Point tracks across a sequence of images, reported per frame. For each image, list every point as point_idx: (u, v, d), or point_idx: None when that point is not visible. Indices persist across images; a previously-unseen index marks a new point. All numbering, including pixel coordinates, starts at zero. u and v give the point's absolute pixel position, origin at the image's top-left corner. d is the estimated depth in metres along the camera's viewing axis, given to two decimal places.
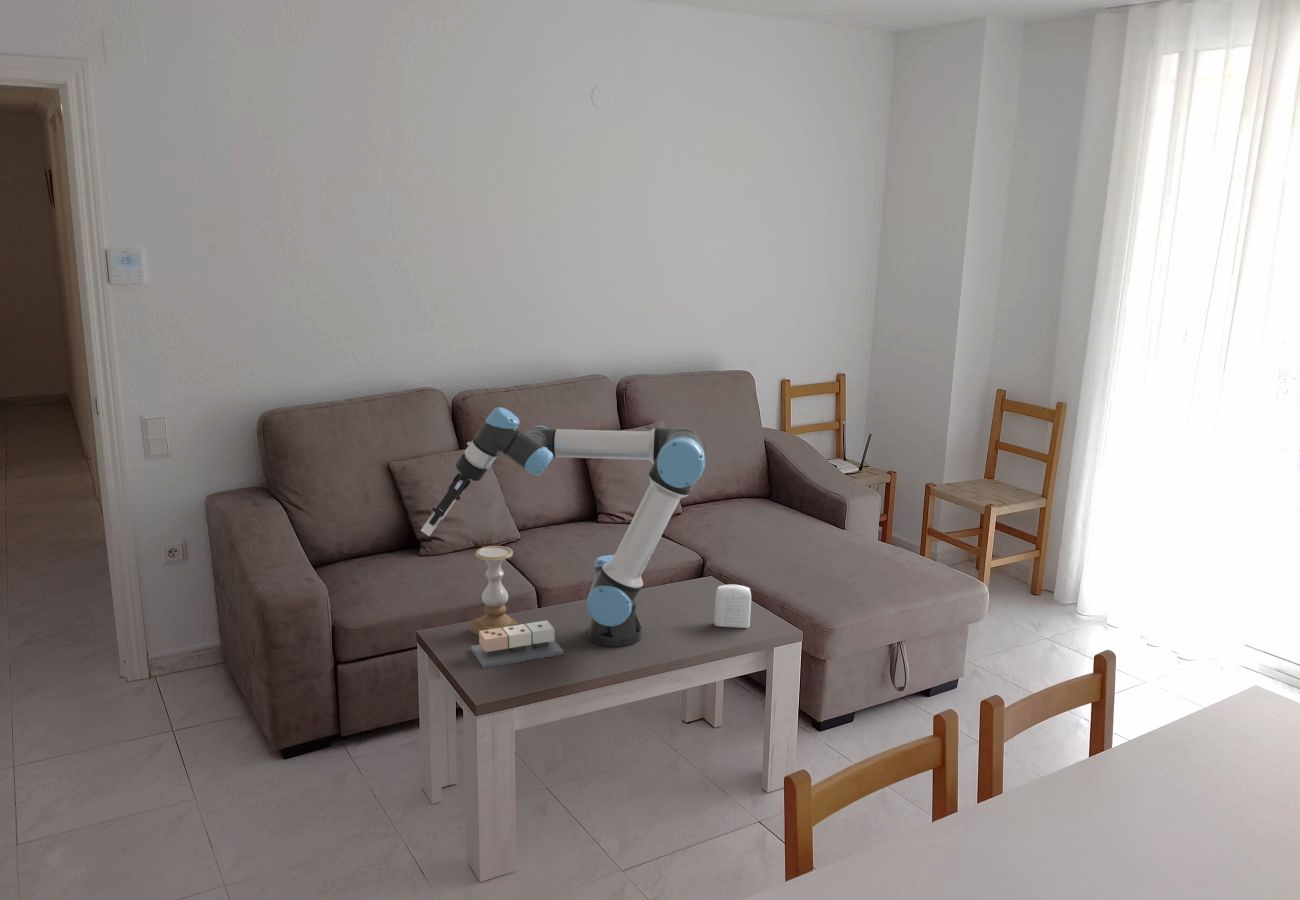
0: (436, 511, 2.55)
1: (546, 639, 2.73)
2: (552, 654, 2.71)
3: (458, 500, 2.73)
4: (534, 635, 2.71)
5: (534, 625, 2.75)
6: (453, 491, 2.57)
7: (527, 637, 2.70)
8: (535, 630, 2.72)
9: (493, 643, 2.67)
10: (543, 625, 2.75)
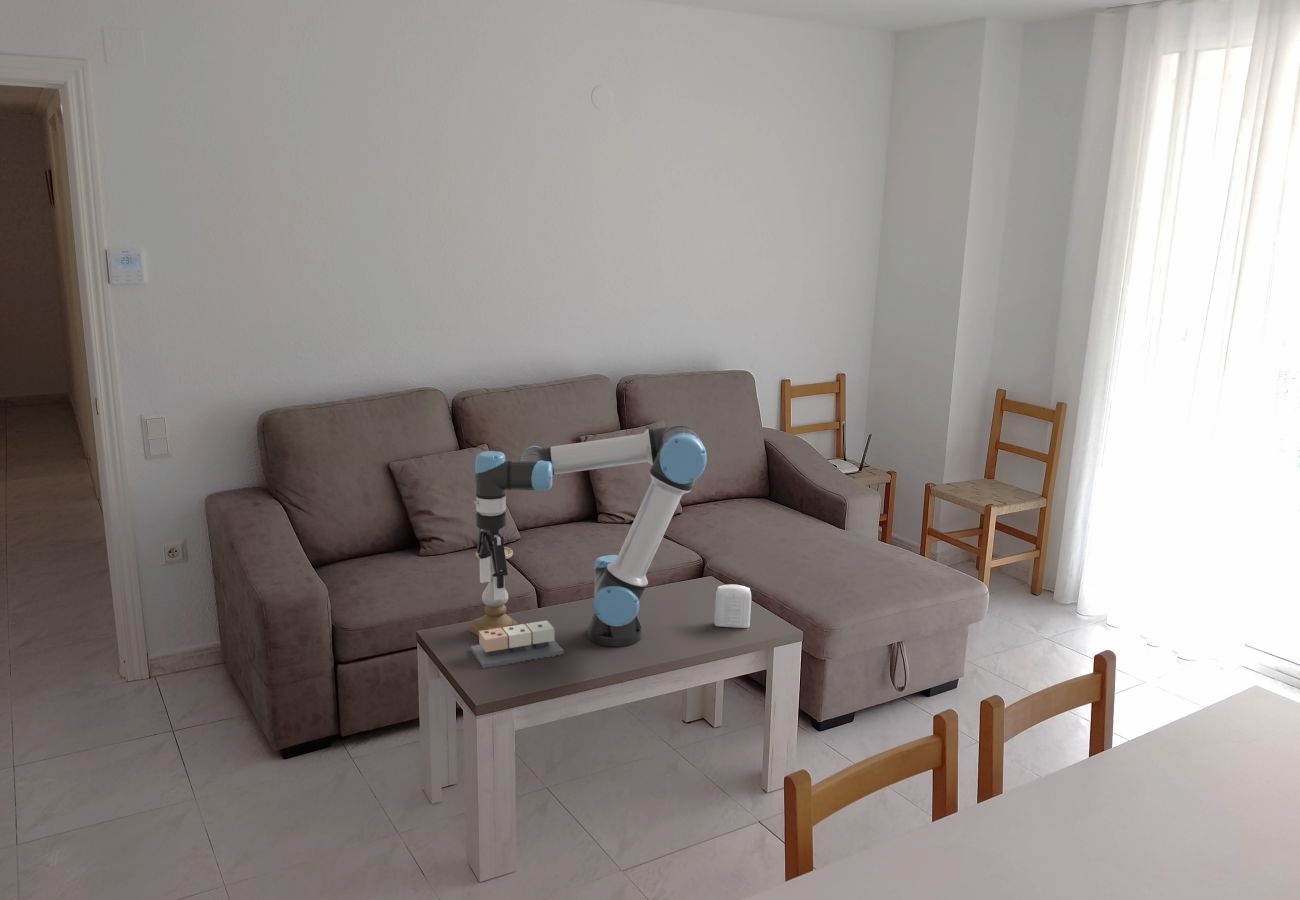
0: (500, 574, 2.56)
1: (546, 639, 2.73)
2: (552, 654, 2.71)
3: (491, 556, 2.72)
4: (534, 635, 2.71)
5: (534, 625, 2.75)
6: (498, 547, 2.57)
7: (527, 637, 2.70)
8: (535, 630, 2.72)
9: (493, 643, 2.67)
10: (543, 625, 2.75)
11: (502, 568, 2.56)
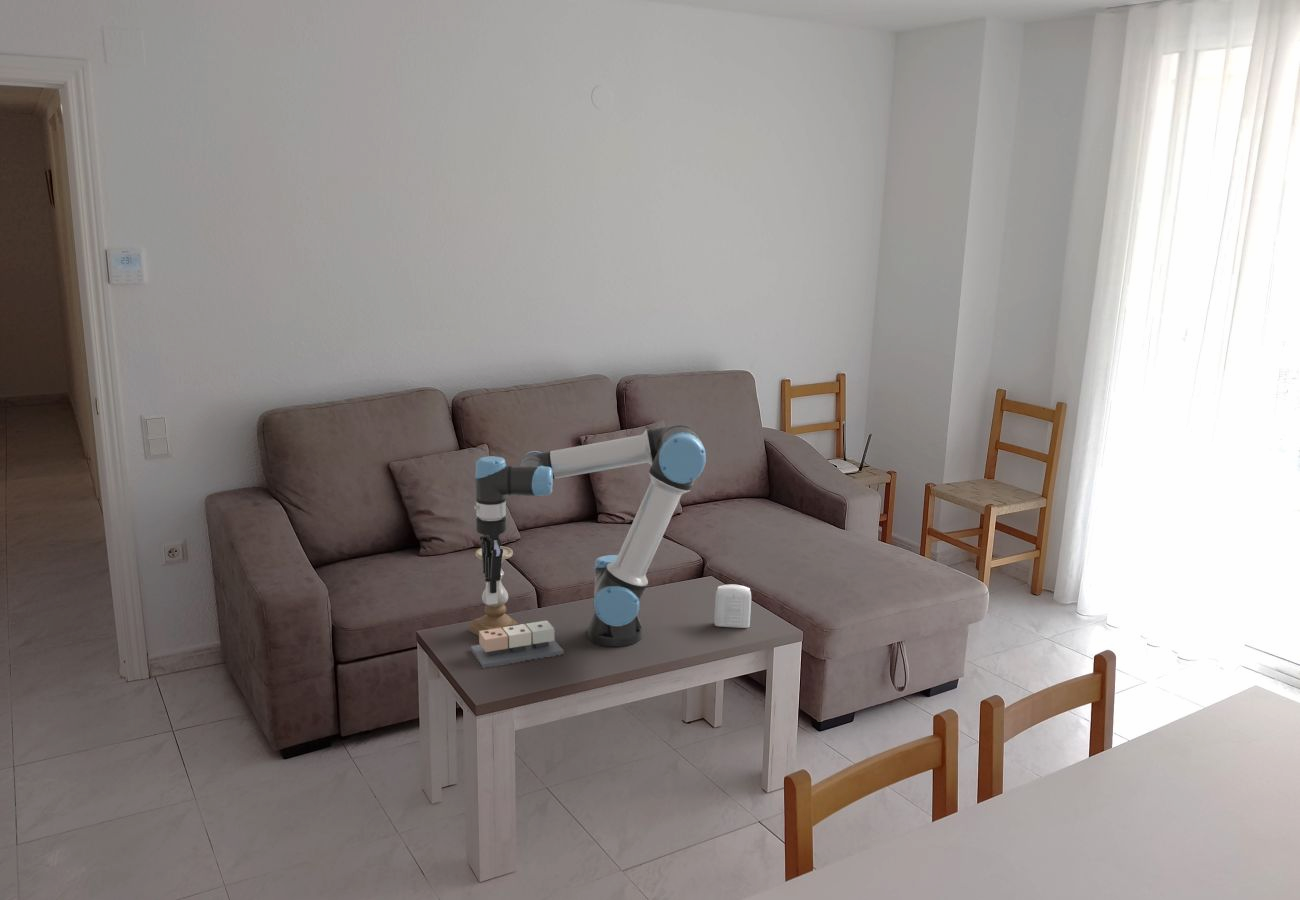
0: (493, 579, 2.62)
1: (546, 639, 2.73)
2: (552, 654, 2.71)
3: None
4: (534, 635, 2.71)
5: (534, 625, 2.75)
6: (496, 558, 2.59)
7: (527, 637, 2.70)
8: (535, 630, 2.72)
9: (493, 643, 2.67)
10: (543, 625, 2.75)
11: (496, 576, 2.62)
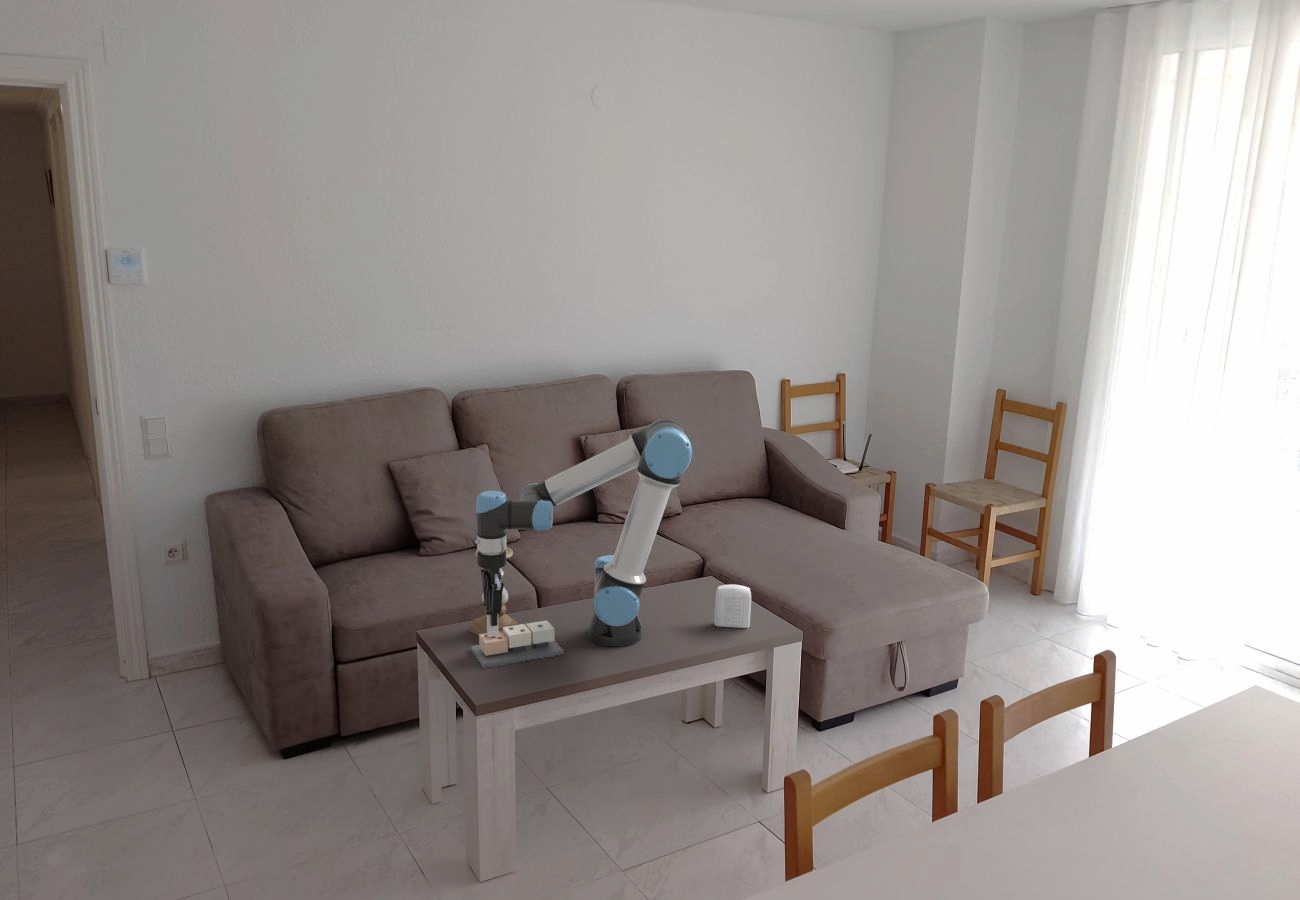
0: (494, 612, 2.64)
1: (546, 639, 2.73)
2: (552, 654, 2.71)
3: None
4: (534, 635, 2.71)
5: (534, 625, 2.75)
6: (497, 592, 2.62)
7: (527, 637, 2.70)
8: (535, 630, 2.72)
9: (493, 647, 2.67)
10: (543, 625, 2.75)
11: (497, 609, 2.64)
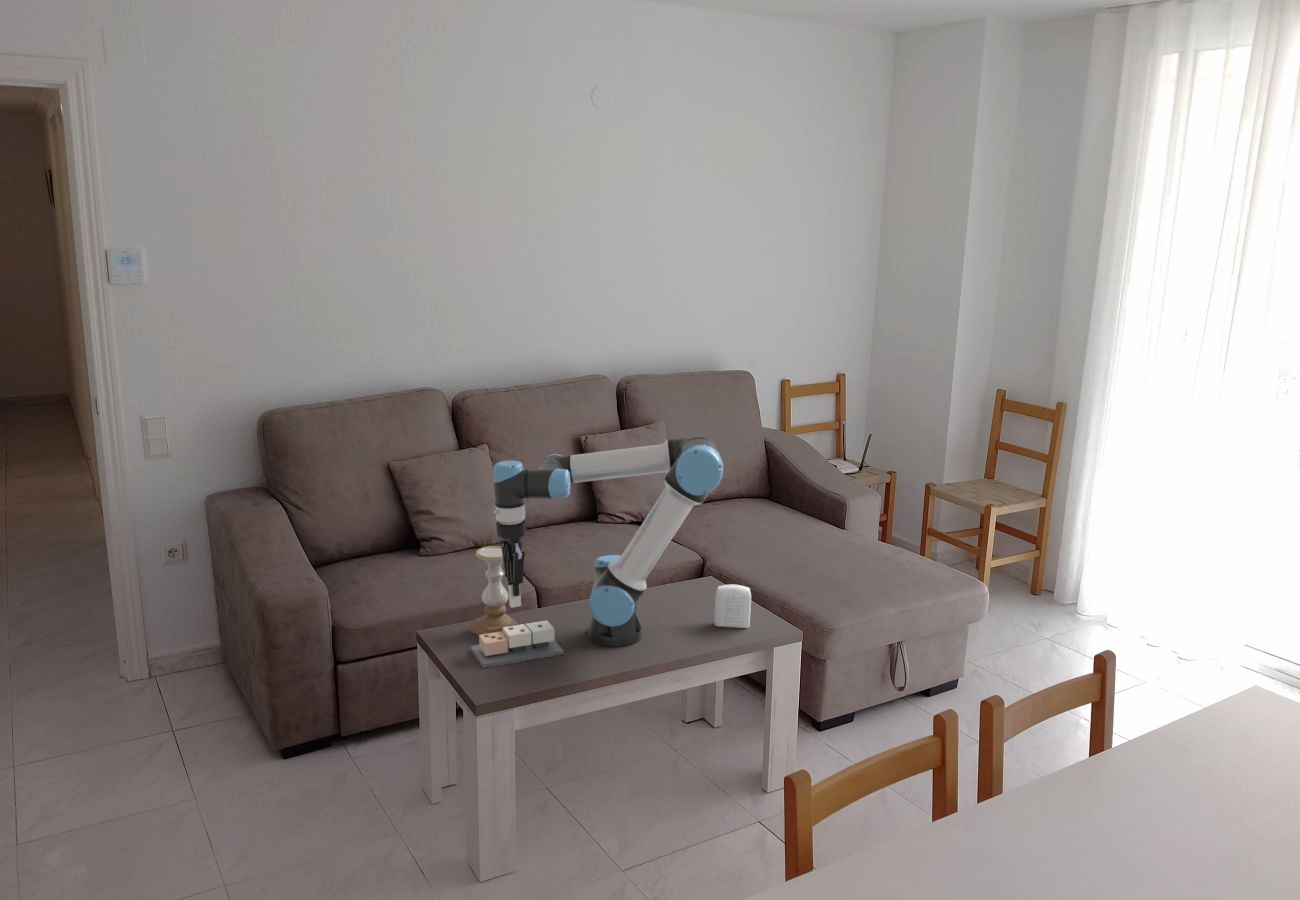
0: (516, 582, 2.64)
1: (546, 639, 2.73)
2: (552, 654, 2.71)
3: None
4: (534, 635, 2.71)
5: (534, 625, 2.75)
6: (518, 561, 2.62)
7: (527, 637, 2.70)
8: (535, 630, 2.72)
9: (493, 647, 2.67)
10: (543, 625, 2.75)
11: (519, 578, 2.64)
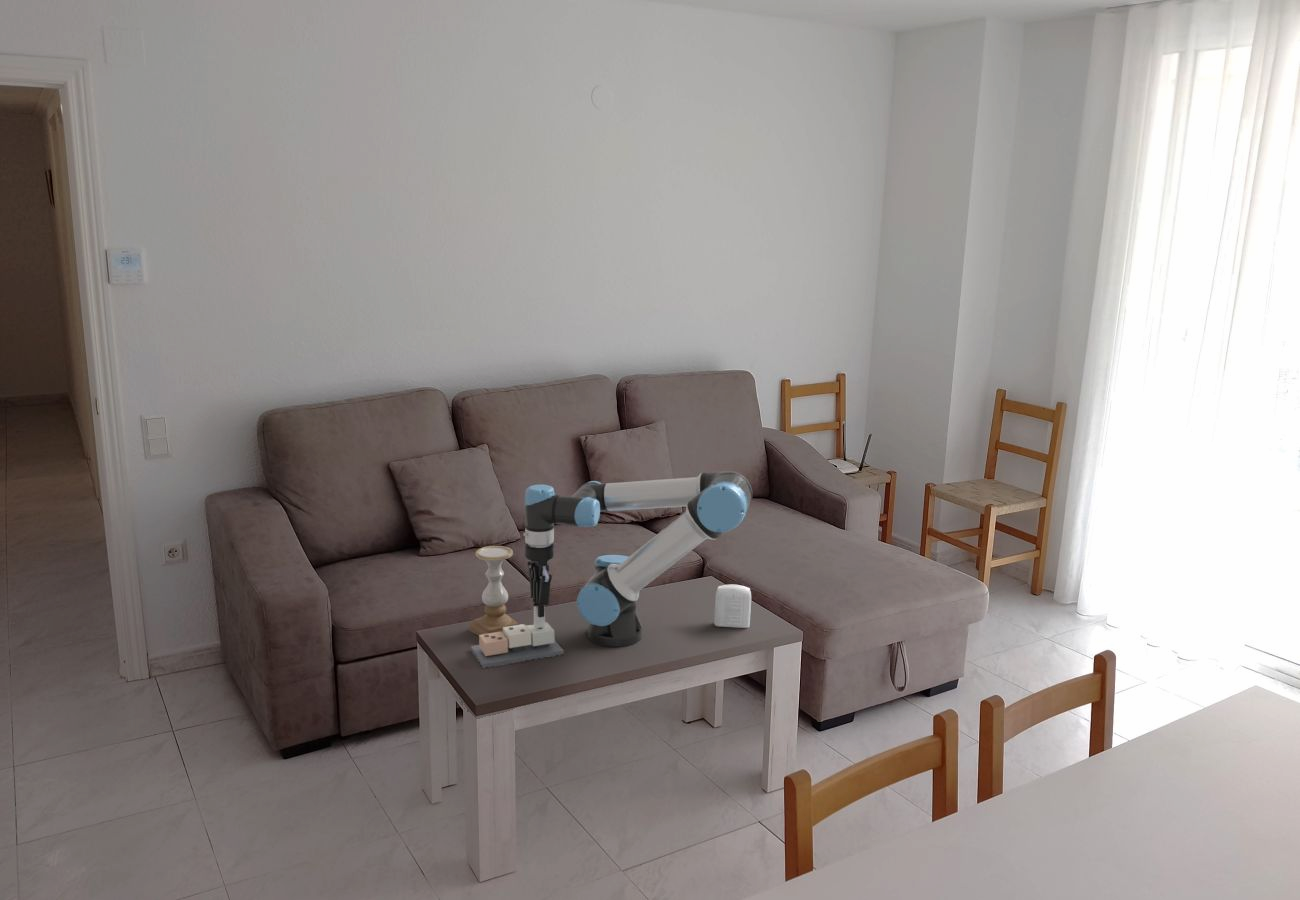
0: (541, 604, 2.69)
1: (546, 641, 2.73)
2: (552, 654, 2.71)
3: None
4: (534, 637, 2.71)
5: (534, 627, 2.75)
6: (545, 584, 2.67)
7: (527, 637, 2.70)
8: (535, 632, 2.72)
9: (493, 647, 2.67)
10: (543, 627, 2.75)
11: (544, 600, 2.69)
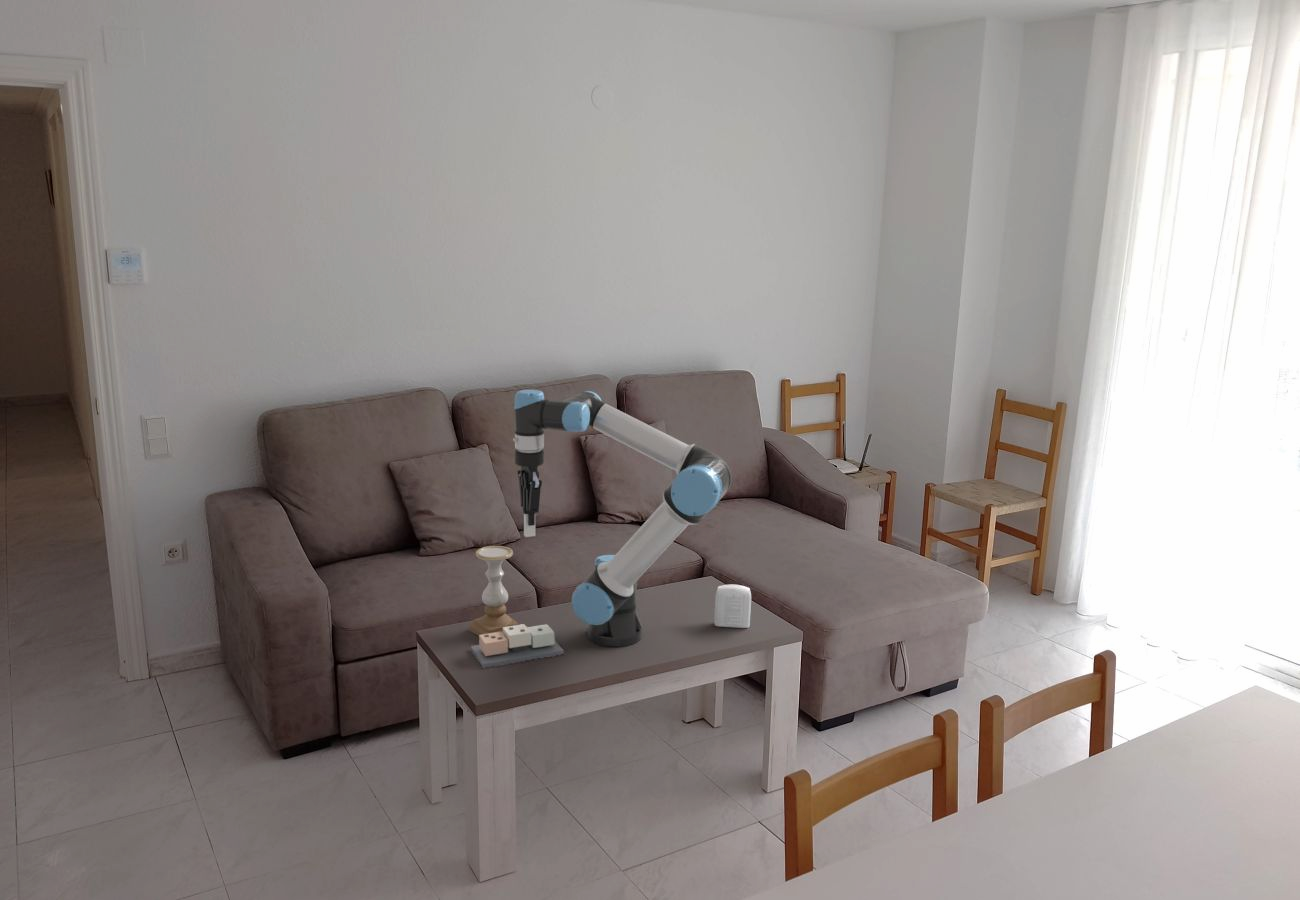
0: (531, 511, 2.66)
1: (546, 643, 2.73)
2: (552, 654, 2.71)
3: None
4: (534, 639, 2.71)
5: (534, 629, 2.75)
6: (535, 490, 2.63)
7: (527, 637, 2.70)
8: (535, 634, 2.72)
9: (493, 647, 2.67)
10: (543, 629, 2.75)
11: (534, 507, 2.66)
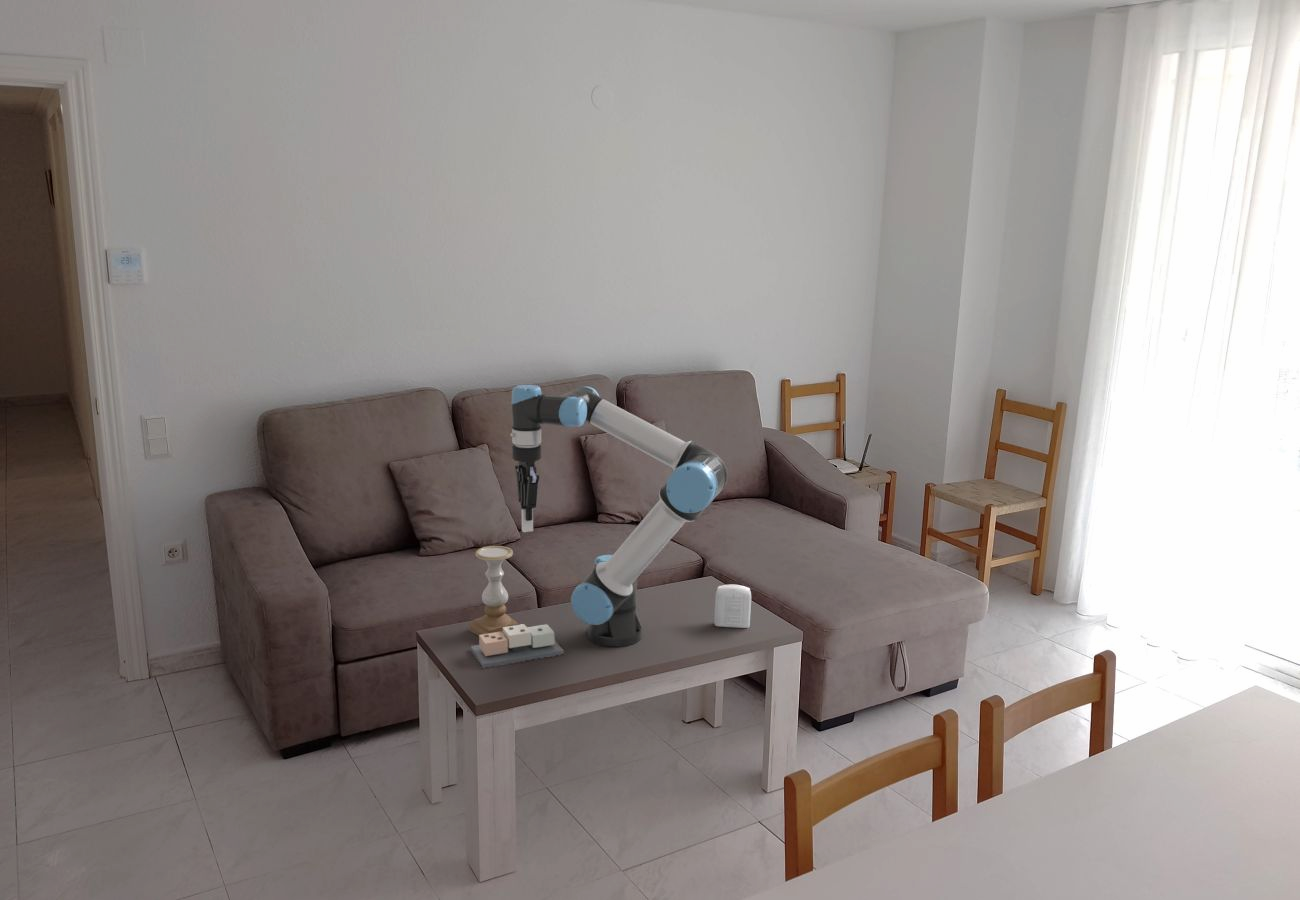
0: (529, 506, 2.66)
1: (546, 643, 2.73)
2: (552, 654, 2.71)
3: None
4: (534, 639, 2.71)
5: (534, 629, 2.75)
6: (532, 485, 2.64)
7: (527, 637, 2.70)
8: (535, 634, 2.72)
9: (493, 647, 2.67)
10: (543, 629, 2.75)
11: (532, 502, 2.66)
